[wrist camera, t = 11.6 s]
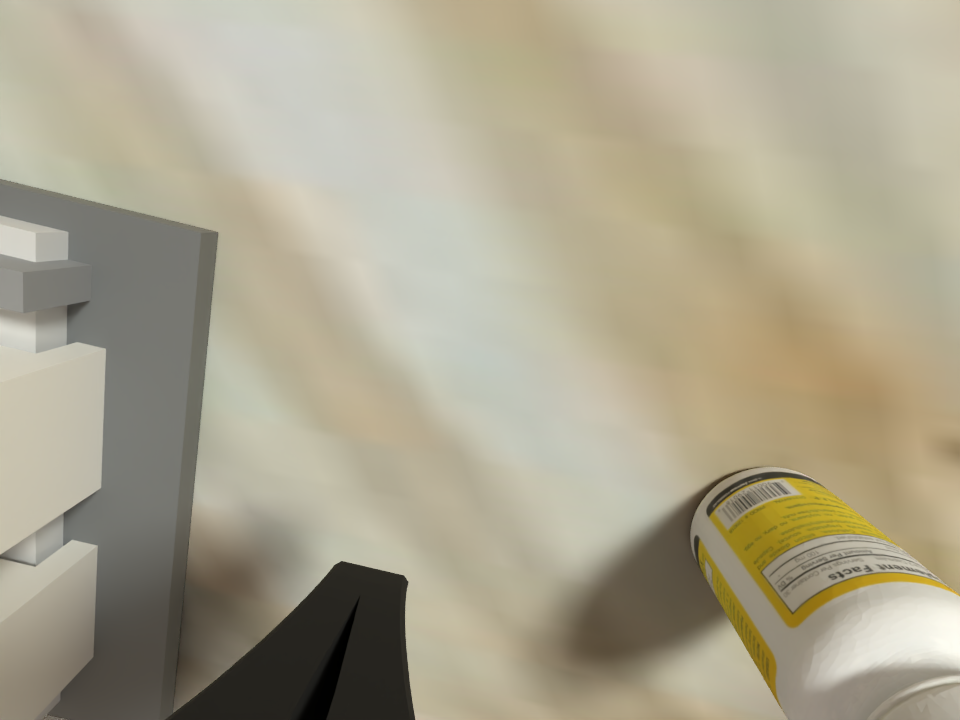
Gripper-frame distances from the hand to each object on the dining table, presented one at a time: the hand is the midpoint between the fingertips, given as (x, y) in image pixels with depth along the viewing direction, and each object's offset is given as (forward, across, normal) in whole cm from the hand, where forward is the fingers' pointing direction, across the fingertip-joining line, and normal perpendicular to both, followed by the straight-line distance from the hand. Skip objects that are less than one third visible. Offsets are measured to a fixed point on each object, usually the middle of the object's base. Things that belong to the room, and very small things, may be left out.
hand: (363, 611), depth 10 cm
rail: (+9, +14, +6) cm, 18 cm away
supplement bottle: (+10, -13, +1) cm, 16 cm away
